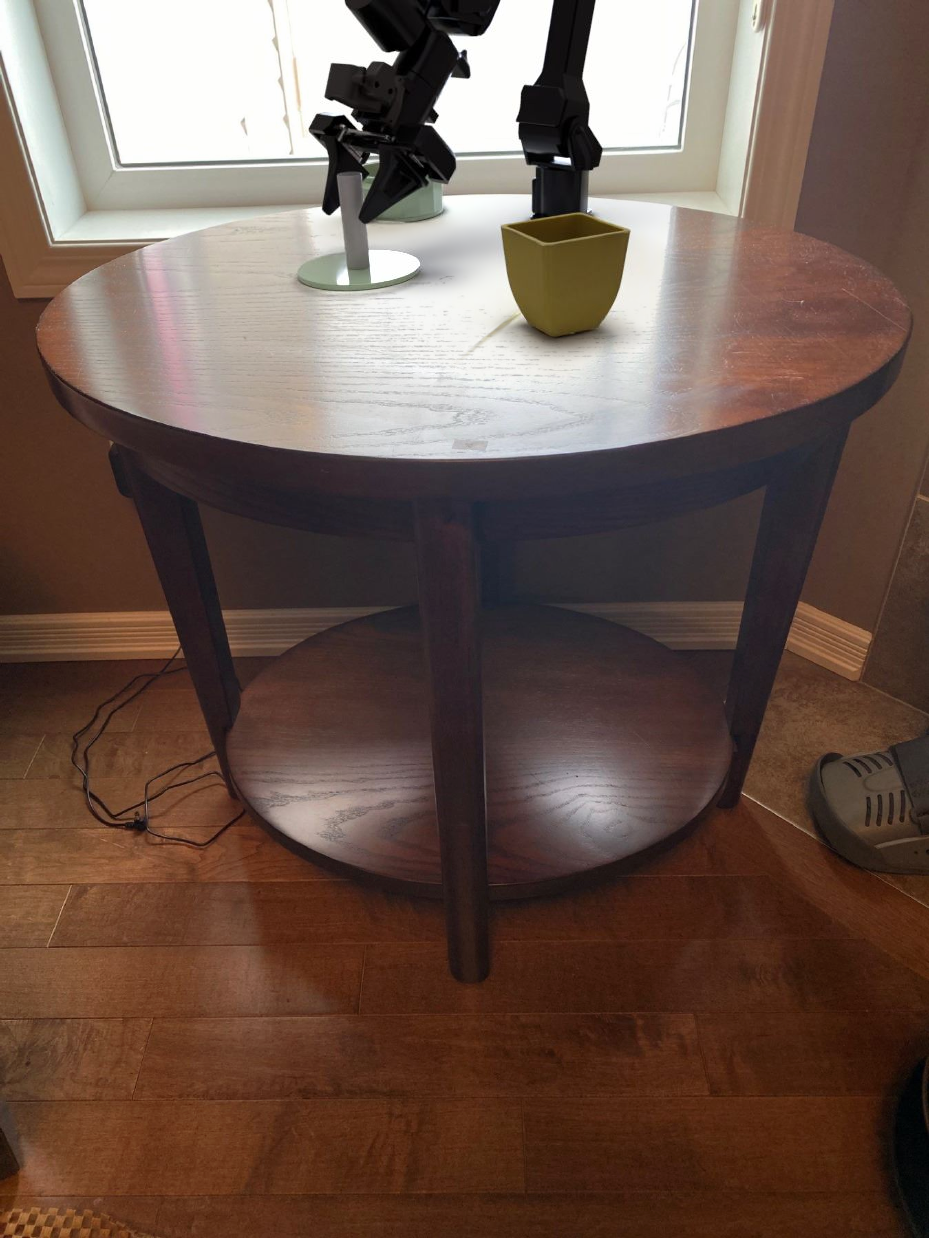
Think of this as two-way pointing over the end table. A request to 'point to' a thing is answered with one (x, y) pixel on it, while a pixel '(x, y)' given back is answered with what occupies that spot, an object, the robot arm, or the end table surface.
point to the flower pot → (565, 270)
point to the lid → (356, 251)
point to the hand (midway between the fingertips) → (343, 217)
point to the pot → (409, 200)
